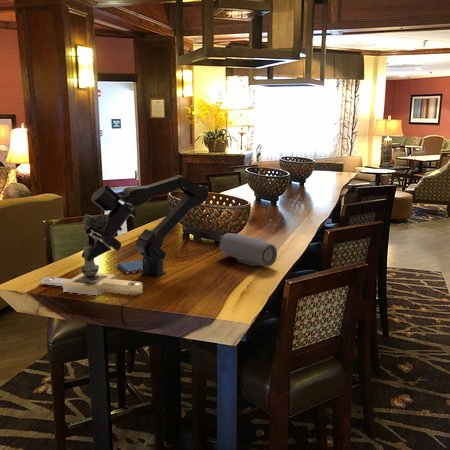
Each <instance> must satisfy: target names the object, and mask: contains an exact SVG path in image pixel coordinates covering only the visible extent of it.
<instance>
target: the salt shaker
mask: <svg viewBox="0 0 450 450" xmlns="http://www.w3.org/2000/svg"><path fill="white" fill-rule="evenodd" d="M86 243H87V245H86V244H84V246H83V251H84V256H83V257H84V258H83V257H82V258H83V260H84V263H83V266H81V267H80V268H79V269H80V270H81V273H83V274H84V275H85V276H84V277H83V278H82V280H85V281H92V280H96V279H98V278H99V276H98V275H95V274H97V273H99V268H100V266H99V265H98V264H96V263H95V258H94V259H92V260H90V261H88V260H86V258H87V256H88V255H89V253H90V251H91V250H92V248H93V247H92V245H89V243H88V242H87V241H86Z"/></svg>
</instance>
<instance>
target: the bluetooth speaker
mask: <svg viewBox="0 0 450 450" xmlns="http://www.w3.org/2000/svg"><path fill="white" fill-rule="evenodd" d="M219 249H220V251H221V253H223V254H225V255H227V256H229V257H232V258H234V259H235V260H236V261H237V263H241V264H245V265H248V266H250V267H251V266H252V267H257V266H260V267H271V266H272V265H274V264H275V262H276V261H277V258H278V250H277V248H276V246H275V245H274V244H272V243H270V242H267V241H264V240H261V239H257V238H255V237H251V236H247V235H242V234H239V233H232V232H227V233H224V234H223V235H222V237H221V238H220V241H219Z"/></svg>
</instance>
